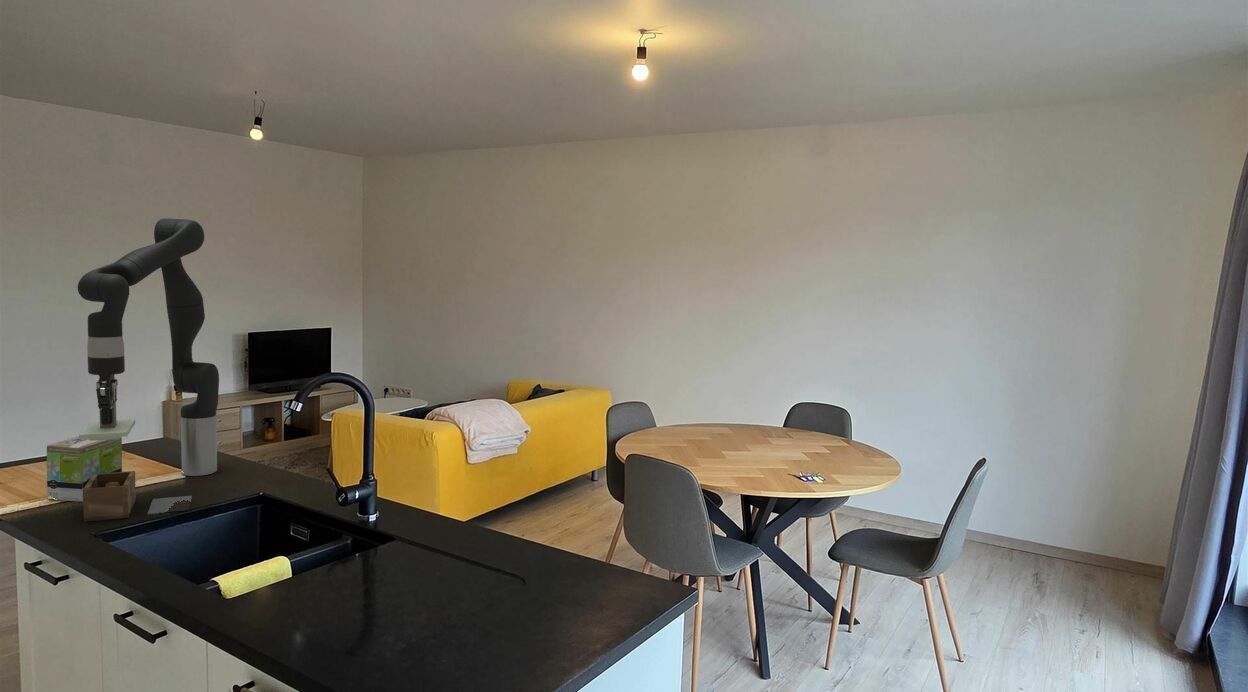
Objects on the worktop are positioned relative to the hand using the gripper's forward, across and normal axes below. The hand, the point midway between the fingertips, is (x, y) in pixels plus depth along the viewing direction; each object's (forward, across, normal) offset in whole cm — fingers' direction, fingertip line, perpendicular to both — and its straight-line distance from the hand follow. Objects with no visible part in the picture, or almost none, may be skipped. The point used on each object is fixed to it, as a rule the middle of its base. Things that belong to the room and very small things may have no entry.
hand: (108, 422), depth 186 cm
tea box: (+23, +18, +8) cm, 30 cm away
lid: (+3, 0, 0) cm, 3 cm away
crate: (+23, 0, 0) cm, 23 cm away
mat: (+23, 0, -13) cm, 26 cm away
